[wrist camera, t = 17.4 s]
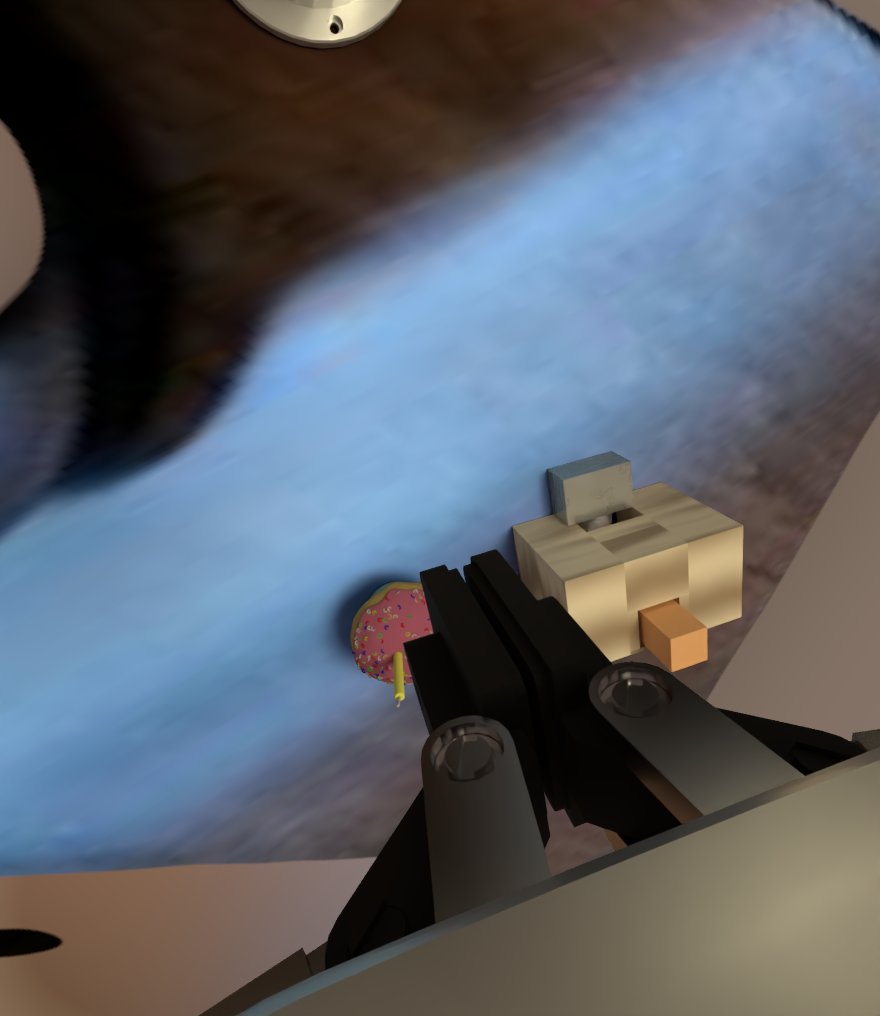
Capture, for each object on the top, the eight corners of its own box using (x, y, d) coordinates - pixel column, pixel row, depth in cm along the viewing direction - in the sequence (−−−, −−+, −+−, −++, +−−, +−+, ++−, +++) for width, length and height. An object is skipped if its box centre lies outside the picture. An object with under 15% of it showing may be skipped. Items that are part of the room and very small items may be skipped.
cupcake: (358, 660, 50) (380, 765, 39) (332, 575, 47) (348, 665, 36) (453, 630, 51) (500, 724, 40) (435, 545, 48) (480, 623, 37)
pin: (547, 468, 48) (562, 480, 45) (611, 450, 49) (630, 461, 46) (569, 645, 55) (584, 663, 52) (624, 626, 56) (642, 644, 53)
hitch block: (512, 526, 49) (564, 581, 40) (661, 482, 51) (743, 525, 42) (524, 605, 52) (575, 673, 43) (664, 560, 54) (741, 616, 45)
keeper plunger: (616, 590, 46) (670, 639, 39) (648, 579, 46) (707, 627, 40) (619, 619, 47) (671, 672, 41) (650, 608, 47) (707, 659, 41)
